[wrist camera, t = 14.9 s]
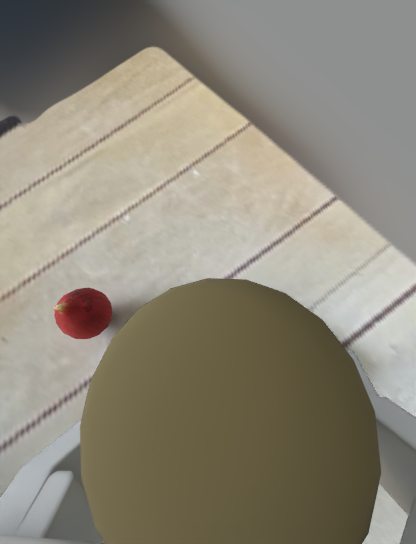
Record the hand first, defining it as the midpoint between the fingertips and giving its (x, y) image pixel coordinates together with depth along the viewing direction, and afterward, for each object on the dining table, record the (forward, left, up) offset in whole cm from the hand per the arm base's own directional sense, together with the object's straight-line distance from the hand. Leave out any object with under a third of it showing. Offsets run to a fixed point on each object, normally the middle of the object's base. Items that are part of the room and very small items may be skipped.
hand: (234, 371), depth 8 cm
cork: (0, 0, -6) cm, 6 cm away
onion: (-6, +19, -21) cm, 29 cm away
